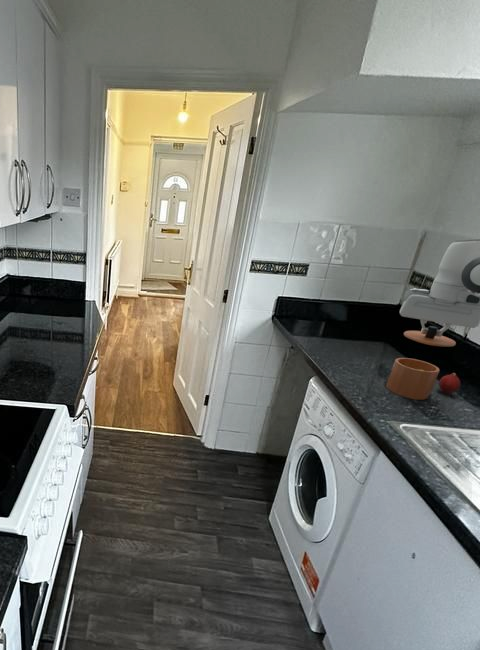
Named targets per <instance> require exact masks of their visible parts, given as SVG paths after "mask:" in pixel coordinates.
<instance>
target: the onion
mask: <svg viewBox="0 0 480 650" xmlns="http://www.w3.org/2000/svg"><path fill="white" fill-rule="evenodd" d="M438 387H439V388H440V389H441V391H442V393H443V394H450V393H455V392H456V391H458V390H459V389H460V387H461V380H460V378H459V377H458V376H457V374H456V373H455V372H453V373H451V374H446V375H444V376H442V377H441V378H440V379H439V381H438Z"/></svg>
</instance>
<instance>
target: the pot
mask: <svg viewBox="0 0 480 650" xmlns="http://www.w3.org/2000/svg"><path fill="white" fill-rule="evenodd" d="M417 369H418V370H417ZM421 369H422V370H424V371H422V370H421ZM440 371H441V370H440V368H439V367H438V366H437V365H434V364H433V363H430V362H427V361H424V360H420V359H416V358H408V357H398V358H395V359H394V362H393V365H392V368H391V371H390V373H389V375H388V379H387V381H386V385H385V387H386V389H388V390H389V391H390V392H392V393H394V394H395V395H398V396H401V397H404V398H406V399H411V400H418V401H419V400H421V401H422V400H427V399H428V398H429V397H430V395H431V392H432V389H433V388H434V385H435V382H436V380H437V378H438V375H439V374H440Z"/></svg>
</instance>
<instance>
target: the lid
mask: <svg viewBox="0 0 480 650" xmlns="http://www.w3.org/2000/svg"><path fill="white" fill-rule="evenodd" d="M427 328H428V332H427V334H421V330H406V331H404V332H403V336H404V337H405V338H407V339H410V340H412V341H415V342H417V343H420V344H424V345H428V346H434V347H444V348H447V347H448V348H451V347H454V346H456V344H457V343H456V341H455V340H454V339H452V338H449V337H447V336H444V335H442V336H441V337H438V336H435V335H436V332H437V330H439V327H437V326H435V325H429V326H428V327H427Z"/></svg>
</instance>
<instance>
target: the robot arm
mask: <svg viewBox="0 0 480 650" xmlns="http://www.w3.org/2000/svg"><path fill="white" fill-rule="evenodd" d="M399 315H400V316H401V317H403V318H409V319H416V320H419V321H420V325H421V330H420V331H421V334H427V332H428V327H426V326H425V324H427V323H428V322H434V323H438V324H439V323H440V324H443V327H442V328H441V329H438V330H437V332H436V335H435V336H438V337H441V336H443V333H444V332H445V331H448V329H450V327H451V325H452V326H458V327H464V328H470V329H475V328H477V327H478V326H480V238H478V239H477V238H473V239H472V238H471V239H458V240H455V241H453V242H452V243H450V245H449V246H448V247H447V248H446V251H445V252H444V254H443V256H442V259H441V261H440V264H439V266H438V272H437V275H436V276H435V278H434V279H433V282H432V284H431V286H430V289H422V288H421V289H420V288H417V287H415V288H411V289H408V290H406V291H405V292H404V295H403V303H402V304H401V307H400V309H399Z"/></svg>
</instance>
